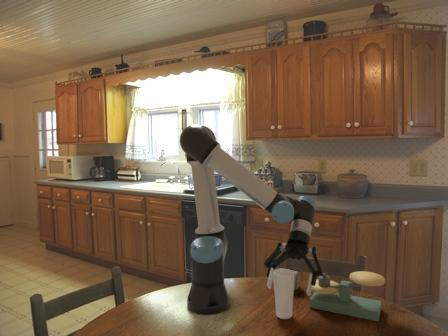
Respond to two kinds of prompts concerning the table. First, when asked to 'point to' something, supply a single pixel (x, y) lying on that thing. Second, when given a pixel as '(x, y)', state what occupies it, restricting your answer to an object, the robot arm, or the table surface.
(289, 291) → the white cup
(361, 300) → the balance
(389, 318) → the table surface
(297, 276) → the ceramic mug
